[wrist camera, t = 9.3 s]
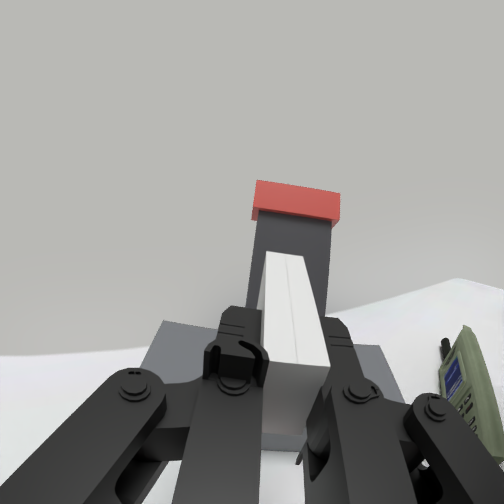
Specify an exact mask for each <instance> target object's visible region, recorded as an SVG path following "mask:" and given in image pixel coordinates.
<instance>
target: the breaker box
mask: <svg viewBox="0 0 504 504" xmlns="http://www.w3.org/2000/svg"><path fill="white" fill-rule="evenodd" d="M217 332H218V330H217V329H211V328H204V327H198V326H192V325H186V324H180V323H175V322H169V321H164V320H163V322H162V324H161V326H160V328H159V330H158V332H157V334H156V336H155V338H154V340H153V342H152V344H151V346H150V348H149V350H148V352H147V354H146V356H145V358H144V360H143V362H142V364H141V366H140V368H142V369H146V370H149V371H152V372H153V373H155V374H156V375H158V376H159V377H160V378H161V380H162V381H163V382H164V384H168V383H184V382H189V381H192V380H195V379H197V378H199V377H200V376H202V375H203V359H204V350H205V348H206V347H207V345H208V344H209V343H210V342H212V341H214V340H215V339H216V336H217ZM353 345H354V348H355V351H356V354H357V357H358V359H359V362H360V365H361V368H362V371H363V374H364V377H365V378H367V379H369V380H371V381H373V382H374V383H375V384H376V385H377V386H378V387H379V388H380V390H381V391H382V393H383V395H384V398H386V399H389V400H392V401H396V402H401V403H405V401H404V399H403V397H402V394H401V392H400V390H399V387H398V385H397V383H396V381H395V378H394V376H393V374H392V372H391V369H390V367H389V365H388V363H387V361H386V358H385V356H384V354H383V352H382V350H381V348H380V346H379V345H361V344H353ZM306 440H307V428H306V426H305V428H304V430H303V433H302V435H284V434H271V433H262V436H261V450H274V451H295V452H300V451H301V449H302V447H303V445H304V443H305V441H306Z"/></svg>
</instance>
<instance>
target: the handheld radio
mask: <svg viewBox="0 0 504 504" xmlns="http://www.w3.org/2000/svg"><path fill="white" fill-rule="evenodd" d="M441 345H442V350H443V356H444V359H445V360H444V362H443V363H442V365H441V367H440V368H439V374H440V383H441V392H442V397H444V398H446V399H447V400H448V401H449V402H450V403H451V404H452V405H453V406H454V407H455V409H456V410H457V411H458V412H459V414H460V415H461V416H462V417H463V419H464V420H465V421H466V423H467V424H468V425H469V426H470V428H471V429H472V430H473V432H474V433H475V434H476V435H477V437H478V438H479V439H480V441H481V442H482V443H483V445H484V446H485V447H486V449H487V450H488V451H489V453H490V454H491V455H492V457H493V458H494V459H495V461H496V462H497V464H498V465H499V464H501V463H502V462H503V461H504V432H503V427H502V422H501V418H500V414H499V409H498V405H497V401H496V398H495V394H494V390H493V387H492V383H491V380H490V377H489V373H488V370H487V367H486V364H485V361H484V358H483V355H482V352H481V349H480V347H479V344H478V341H477V338H476V336H475V334H474V333H473V332H472V330H471V328H470V327H467V326H465V325H463V329H462V330H461V332H460V334H459V335H458V337H457V339H456V341H455V343H454V345H453V346H452V348H451V347H450V342H449V339H448V338H444V339H442V340H441Z"/></svg>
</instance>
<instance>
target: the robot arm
mask: <svg viewBox="0 0 504 504" xmlns="http://www.w3.org/2000/svg"><path fill="white" fill-rule="evenodd" d="M305 426H306V428H307V440H306V441H305V443H304V445H303V447H302V449H301V451H300V453H299V455H298V457H297V459H296V464H295V465H300V463H301V461H302V459H303V470H304V489H305V504H504V472H503V470H502V469H501V468H500V466H499V465H498V464H497V462H496V461H495V459H494V458H493V457H492V455H491V454H490V453H489V451H488V450H487V449H486V447H485V446H484V445H483V443H482V442H481V441H480V439H479V438H478V437H477V435H476V434H475V433H474V432H473V430H472V429H471V428H470V426H469V425H468V424H467V423H466V421H465V420H464V419H463V417H462V416H461V415H460V414H459V412H458V411H457V410H456V409H455V407H454V406H453V405H452V404H451V403H450V402H449V401H448V400H447V399H446V398H444V397H442V396H440V395H438V394H433V393H424V394H421V395H419V396H417V397H416V399H415V400H414V402H413V403H412V405H410V404H405V403H401V402H396V401H392V400H389V399H386V398H384V395H383V393H382V391H381V390H380V388H379V387H378V386H377V385H376V384H375V383H374V382H373V381H371V380H369V379H367V378H365V377H364V374H363V371H362V368H361V365H360V362H359V359H358V357H357V354H356V351H355V348H354V345H353V342H352V340H351V337H350V334H349V331H348V329H347V327H346V326H345V325H344V324H343V323H342V322H341V321H340V320H339V319H338V318H332V317H323V316H318V312H317V308H316V304H315V300H314V296H313V292H312V289H311V285H310V281H309V277H308V274H307V270H306V266H305V262H304V259H303V256H296V255H290V254H283V253H276V252H269V251H266V256H265V262H264V268H263V274H262V280H261V286H260V292H259V298H258V304H257V309H251V308H245V307H238V306H230V307H229V308H228V309H226V310H225V311H224V312H223V313H222V317H221V320H220V325H219V328H218V332H217V336H216V339H215V340H214V341H212V342H210V343H209V344H208V345H207V347H206V348H205V350H204V359H203V375H202V376H200V377H199V378H197V379H195V380H192V381H189V382H184V383H168V384H164V382H163V381H162V380H161V378H160V377H159V376H158V375H156V374H155V373H153V372H152V371H149V370H146V369H142V368H127V369H123V370H119V371H117V372H116V373H114V374H113V375H111V376H110V377H109V378H108V379H107V380H106V381H105V382H104V383H103V384H102V385H101V386H100V387H99V388H98V389H97V390H96V391H95V392H94V393H93V394H92V395H91V396H90V397H89V398H88V399H87V400H86V401H85V402H84V403H83V404H82V405H81V406H80V407H79V408H78V409H77V410H76V411H75V412H74V413H73V414H72V415H71V416H69V417H68V418H67V419H66V420H65V421H64V422H63V423H62V424H61V425H60V426H59V427H58V428H57V429H56V430H55V431H54V433H53V434H52V435H51V436H50V437H49V438H48V439H47V440H46V441H45V442H44V443H43V444H42V445H41V446H40V447H39V448H38V449H37V450H36V451H35V452H34V453H33V454H32V455H31V456H30V457H29V458H28V459H27V460H26V461H25V462H24V463H23V464H22V465H21V466H20V467H19V468H18V469H17V470H16V471H15V472H14V473H13V474H12V475H11V476H10V477H9V478H8V479H7V480H6V481H5V482H4V483H3V484H2V485H1V486H0V504H142V502H143V501H144V499H145V498H146V496H147V495H148V493H149V492H150V490H151V489H152V487H153V486H154V484H155V482H156V481H157V479H158V478H159V476H160V475H161V473H162V472H163V470H164V468H165V467H166V465H167V464H168V462H169V461H177V460H182V462H181V466H180V470H179V475H178V479H177V483H176V487H175V491H174V495H173V500H172V504H259V484H260V461H261V436H262V433H271V434H284V435H302V433H303V430H304V428H305ZM424 459H426V461H427V462H428V464H429V465H430V466H429V467H425V466H423V465H422V464H421V463H422V462H423V460H424Z"/></svg>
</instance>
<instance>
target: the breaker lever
mask: <svg viewBox="0 0 504 504" xmlns="http://www.w3.org/2000/svg"><path fill="white" fill-rule="evenodd" d="M339 218H340V193H335V192H330V191H324V190H319V189H313V188H307V187H301V186H294V185H288V184H282V183H275V182H268V181H261V180H257V182H256V189H255V196H254V203H253V210H252V219H251V220H255V221H257V226H256V233H255V240H254V248H253V255H252V262H251V270H250V277H249V284H248V292H247V299H246V306H245V308H251V309H257V304H258V298H259V292H260V286H261V280H262V274H263V268H264V262H265V256H266V251H269V252H276V253H283V254H290V255H296V256H303V259H304V262H305V266H306V270H307V274H308V277H309V281H310V285H311V289H312V292H313V296H314V300H315V304H316V308H317V312H318V316H323V317H325V309H326V298H327V287H328V276H329V262H330V247H331V230H332V228H333V227H334V226H335V224H336V223H337V222H338V221H339Z"/></svg>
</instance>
